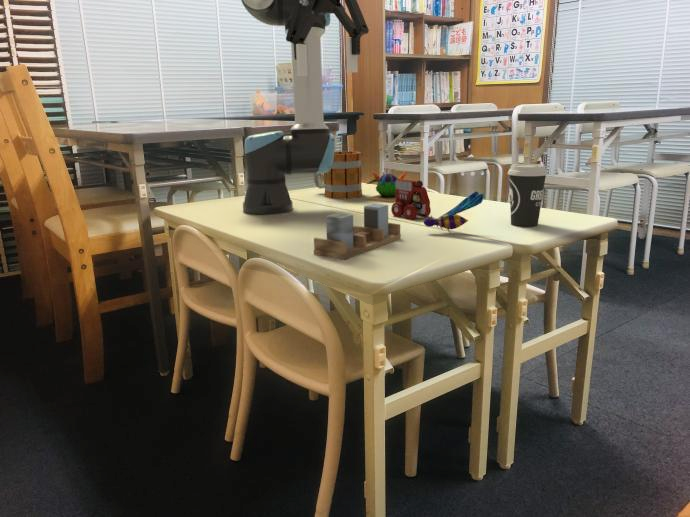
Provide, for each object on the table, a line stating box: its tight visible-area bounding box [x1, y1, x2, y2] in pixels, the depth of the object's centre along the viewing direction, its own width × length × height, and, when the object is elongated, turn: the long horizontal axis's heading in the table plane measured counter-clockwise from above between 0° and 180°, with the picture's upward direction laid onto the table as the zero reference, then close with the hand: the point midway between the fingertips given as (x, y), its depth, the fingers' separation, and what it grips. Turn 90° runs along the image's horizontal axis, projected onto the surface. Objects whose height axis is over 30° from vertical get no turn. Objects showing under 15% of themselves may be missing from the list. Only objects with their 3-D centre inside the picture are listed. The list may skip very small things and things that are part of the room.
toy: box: [423, 190, 485, 233], centre depth 130 cm, size 7×14×10 cm, turn 95°
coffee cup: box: [507, 163, 549, 228], centre depth 137 cm, size 10×10×15 cm
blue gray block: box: [363, 203, 389, 236], centre depth 126 cm, size 4×5×7 cm
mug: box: [313, 150, 363, 199], centre depth 191 cm, size 20×14×15 cm
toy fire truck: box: [390, 178, 432, 220], centre depth 152 cm, size 7×12×10 cm, turn 37°
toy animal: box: [366, 170, 408, 204], centre depth 181 cm, size 11×15×10 cm
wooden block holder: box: [313, 212, 402, 260], centre depth 121 cm, size 8×22×8 cm, turn 143°
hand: (326, 74), depth 117 cm, fingers open, 13 cm apart
